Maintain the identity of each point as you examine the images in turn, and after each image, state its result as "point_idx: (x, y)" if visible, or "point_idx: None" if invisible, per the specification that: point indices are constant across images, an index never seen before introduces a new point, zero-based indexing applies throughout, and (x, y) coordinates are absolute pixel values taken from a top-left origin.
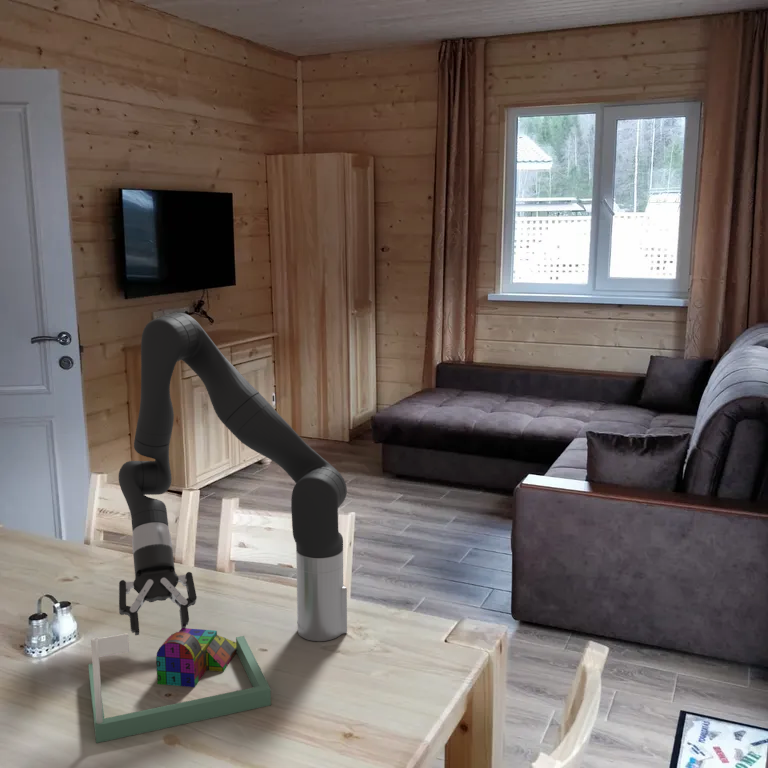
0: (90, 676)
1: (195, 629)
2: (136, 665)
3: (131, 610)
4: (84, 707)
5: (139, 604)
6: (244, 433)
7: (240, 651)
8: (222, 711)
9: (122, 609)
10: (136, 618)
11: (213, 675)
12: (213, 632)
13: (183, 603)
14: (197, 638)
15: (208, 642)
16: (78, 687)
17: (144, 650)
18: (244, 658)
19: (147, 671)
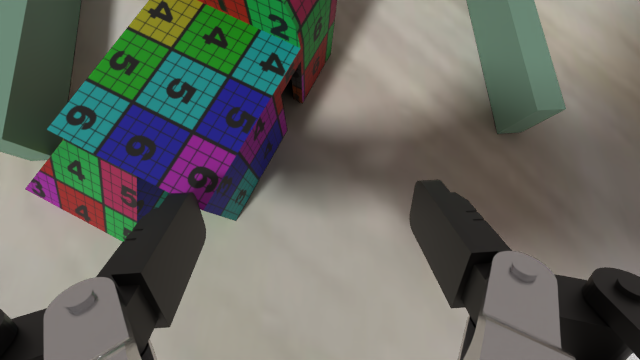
0: (540, 31)
1: (141, 171)
2: (390, 173)
3: (530, 262)
4: None
5: (489, 307)
6: None
7: (36, 78)
8: None
9: (615, 275)
10: (461, 220)
11: None
12: (67, 116)
13: (98, 292)
14: (153, 84)
15: (117, 42)
16: None
17: (366, 271)
18: (40, 17)
19: (356, 127)
